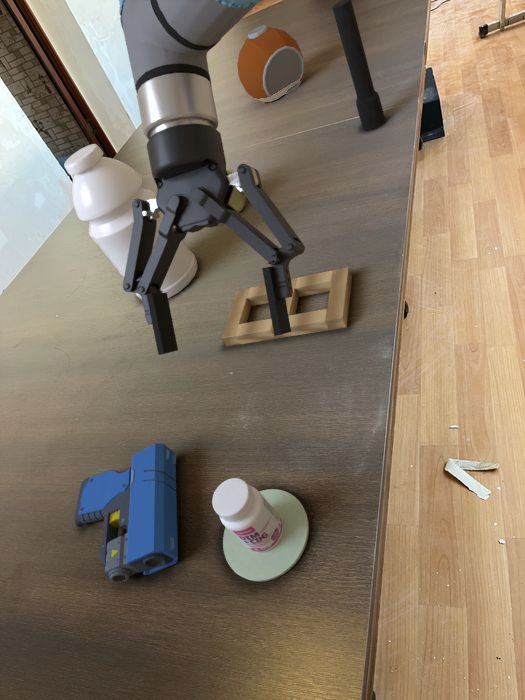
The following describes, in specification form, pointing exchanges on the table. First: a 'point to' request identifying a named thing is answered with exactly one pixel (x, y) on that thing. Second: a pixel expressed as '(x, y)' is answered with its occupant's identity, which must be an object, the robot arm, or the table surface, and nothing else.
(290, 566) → the coaster
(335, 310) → the frame
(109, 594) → the table surface
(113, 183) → the bottle
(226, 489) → the pill bottle
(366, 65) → the flashlight
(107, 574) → the stun gun
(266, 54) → the alarm clock
